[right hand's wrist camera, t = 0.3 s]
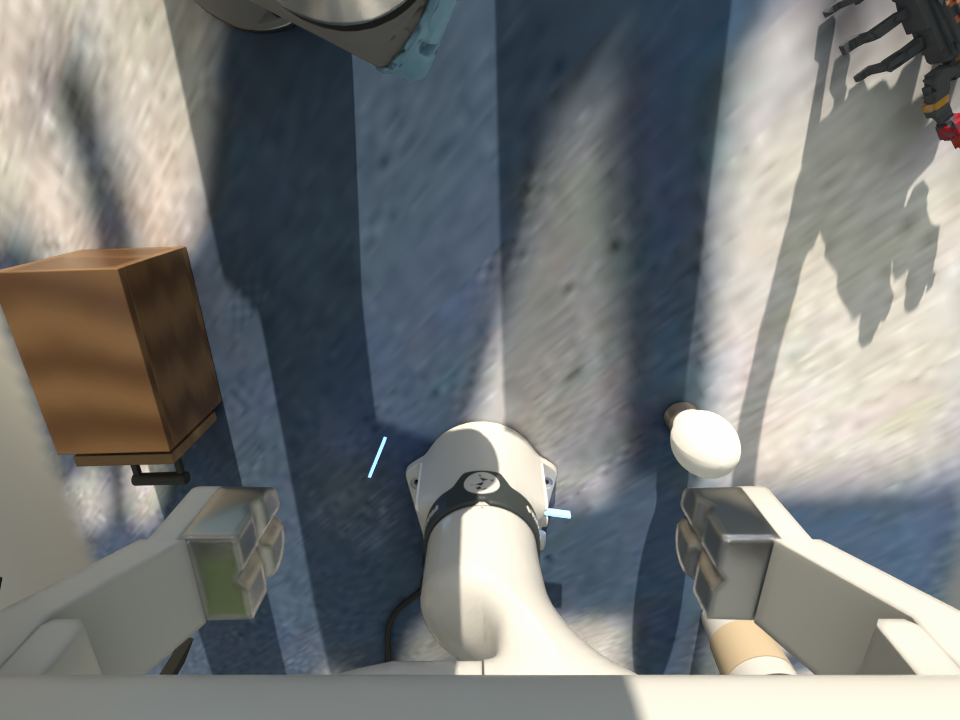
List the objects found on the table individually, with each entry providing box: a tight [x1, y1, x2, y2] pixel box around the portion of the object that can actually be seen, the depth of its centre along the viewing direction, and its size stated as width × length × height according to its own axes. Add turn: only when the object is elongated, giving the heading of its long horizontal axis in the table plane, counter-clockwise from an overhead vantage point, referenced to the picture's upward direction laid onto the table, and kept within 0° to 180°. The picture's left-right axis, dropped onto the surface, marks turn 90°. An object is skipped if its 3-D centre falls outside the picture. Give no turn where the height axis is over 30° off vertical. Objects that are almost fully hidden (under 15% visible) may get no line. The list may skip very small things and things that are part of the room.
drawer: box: [74, 411, 217, 486], centre depth 56 cm, size 22×10×10 cm, turn 2°
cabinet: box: [0, 247, 222, 455], centre depth 54 cm, size 18×11×11 cm, turn 2°
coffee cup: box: [701, 612, 797, 675], centre depth 68 cm, size 9×9×15 cm
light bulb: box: [664, 402, 741, 479], centre depth 58 cm, size 7×7×11 cm
